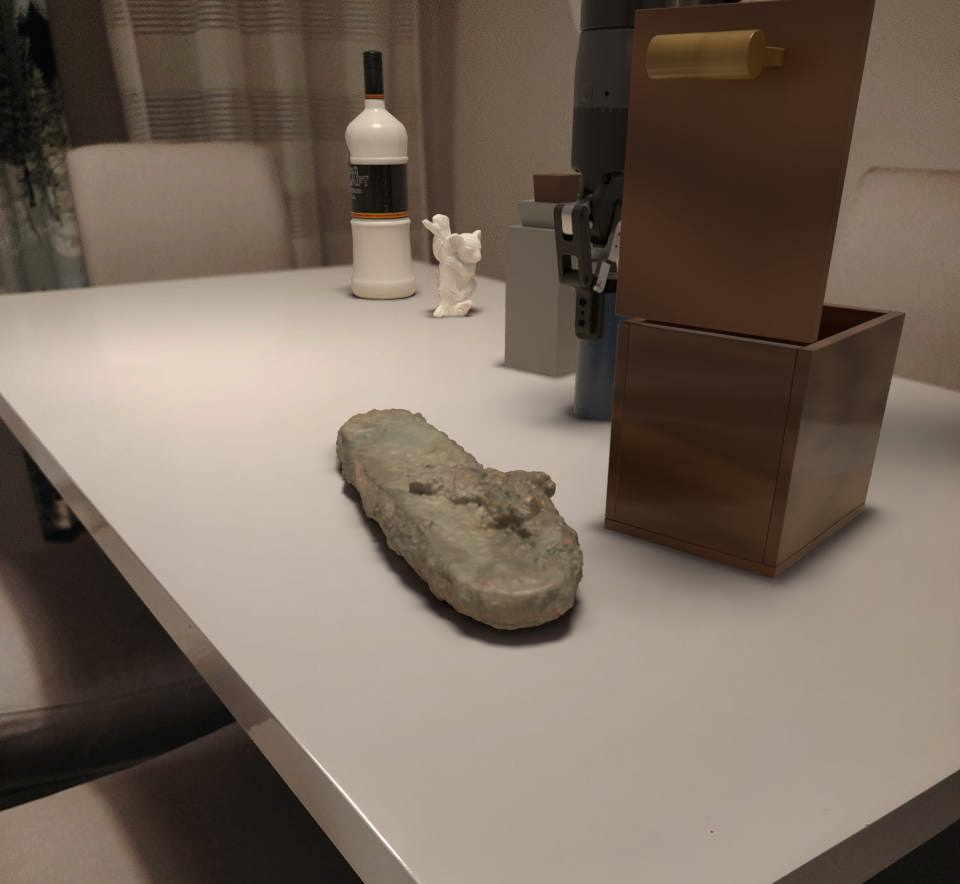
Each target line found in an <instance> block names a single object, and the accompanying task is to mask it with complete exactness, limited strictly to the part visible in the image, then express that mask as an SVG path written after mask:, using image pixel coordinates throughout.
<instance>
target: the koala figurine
mask: <svg viewBox="0 0 960 884" xmlns="http://www.w3.org/2000/svg"><path fill="white" fill-rule="evenodd" d="M421 223H422V224H423V226H424V227H425V228H426V229H427V230H428V231H430V232H431V233H432V234H433V235H434V236H433V238H432V253H433V257H434V258H435V259H436V260H437V261H438V262H439V264H438V269H437V270H436V272H435V283H436V293H437V297H438V298H439V303H438V304H437V305H436V308H435V310H434V311H433V313H432V316H433V317H435V318H442V317H466V316H467V314H468V312H469V310H471V308H472V307H473V301H472V300H471V299H469V298H470V297H472V295H474V294H475V293H476V291H477V287H478V283H477V280H476V279H475V277H476V269H477V263H479V262H480V261H481V260H482V258H483V257H482V254H481V250H482V242H481V241H482V230H480V229H476V230H475V231H474V232H464V233H461V234H459V233H452V231H451V224H450V218H449V217H448V216H447V215H444V214H440V213H437V214H435V215H433V217H432V221H430V220H428V219H427V218H425V219H423V220H422V221H421ZM467 299H468V300H467ZM464 300H465V301H464ZM461 301H463V302H461Z"/></svg>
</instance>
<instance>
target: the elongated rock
mask: <svg viewBox="0 0 960 884" xmlns="http://www.w3.org/2000/svg"><path fill="white" fill-rule="evenodd" d="M335 446H336V447H335V453H336V456H337V459H338V460H340V462H341V464H342V465H341V469H342V471H341V475H340V476H341V478H342V479H344V480H345V482H346V483H347V484H349V485H350V484H352V486H353V487H354V488H355V489H356V491H357V492H358V493H359V496H360V498H361V504H362V509H363V510H364V511H365V515H366V517H367V518H368V519H373V520H374V521H375V522H377V523H378V524H379V528H381V530H382V533H383V534H384V536H386V544H387V546H388V548H389V549H390V550H392V551H394V552H395V553H396V555H397V556H399V557H403V560H405V561H406V562H407V563H408V565H409V566H410V568H412V569H413V570H414V572H415V573H416V574H417V575H418V576H419V577H420V578H421V580H423V581H424V582H426V584H427V586H428V589H429V591H430V592H431V594H432V595H434V596H435V598H436V599H437V600H439V601H441V602H444V601H445V602H447V604H449V605H450V606H452V607H453V609H454V610H456V612H458V613H459V614H461V615H465V616H467V617H471V618H472V619H473V620H474V621H475V620H476V621H477V622H481V623H482V624H485V625H488V626H491V627H492V628H493V629H497V630H509V631H513V630H517V629H523V628H532V627H539V626H541V625H544V624H545V623H548V622H551V621H554V620H558V619H559V618H560V616H563V615H564V614H565V613H566V612H567V611H568V610H569V609H571V608H573V606H574V601H575V595H576V590H577V589H578V588H579V584H580V583H581V581H582V579H583V577H584V574H583V571H584V569H583V567H584V551H583V550H582V549H581V544H580V542H579V535H578V532H577V530H575V529H574V528H573V527H571V526H570V525H569V524H568V523H567V522H566V520H565V518H564V516H562V515H560V513H559V512H560V511H559V510H558V509H557V508H556V505H555V503H554V502H553V500H552V499H551V498H553V497H554V496H555V494H556V488H557V484H556V482H555V481H553V479H552V478H551V476H550V475H549V474H547V473H546V472H545V471H537V470H532V471H527V470H523V469H516V470H510V471H505V472H503V471H500V470H498V469H496V468H493V467H488V466H487V467H486V468H484V464H482V463H479V462H478V460H477V459H476V457H475V456H474V455H473V454H472V453H470V452H468V451H465V448H464V447H463V445H459V444H458V443H457V441H456V440H454V439H453V438H452V439H450V437H449V434H447V433H446V432H445V431H442V430H439V429H438V428H436V427H435V426H434V425H433V424H430V423H429V422H428V421H427V419H426V417H424V416H423V414H422V413H421V412H414V413H412V412H411V411H410V410H408V409H405V408H393V407H391V408H389V409H388V408H385V409H381V410H379V409H376V408H372V409H370V410H368V411H367V412H365V413H357V414H355V415H351V417H350V418H348V420H346V421H345V422H344V423H343V424H342V425H341V426H340V427H339V429H338V431H337V437H336V441H335Z"/></svg>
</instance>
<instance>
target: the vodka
mask: <svg viewBox="0 0 960 884" xmlns="http://www.w3.org/2000/svg"><path fill="white" fill-rule="evenodd" d="M361 55H362V67H363V68H362V70H363V86H364V87H363V88H364V89H363V90H364V109H363V111H361V112H360V113H359V114H358V115H357V116H356V117H355V118H354V119H352V121H350V122H349V123H348V125H347V127H346V129H345V133H344V138H345V142H346V151H347V153H346V154H347V168H348V182H349V198H350V214H351V220H350V221H349V223H350V224H351V234H352V272H351V273H352V274H351V277H350V287H351V291H352V293H353V295H355V296H356V297H357V298H360V299H363V300H364V299H365V300H376V301H377V300H379V301H383V300H384V301H386V300H387V301H388V300H399V299H400V300H401V299H405V298H406V299H407V298H408V297H411V296H412V295H414V294H415V292H416V289H417V280H416V275H415V272H414V264H413V258H412V249H411V223H412V221H411V219H410V218H409V216H410V213H409V212H410V211H409V210H410V209H409V184H408V161H409V156H408V144H409V139H408V138H409V137H408V133H407V129H406V127H405V126H404V124H403V123H402V122H401V121H400V120H398V118H396V117H395V116H394V115H393V114H391V113H390V112H389V111H388V110H387V109H386V103H385V83H384V81H385V80H384V72H383V71H384V61H383V60H384V59H383V52H381V51H379V50H376V49H375V50H374V49H371V50H366V51H363V52H362V54H361Z"/></svg>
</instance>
